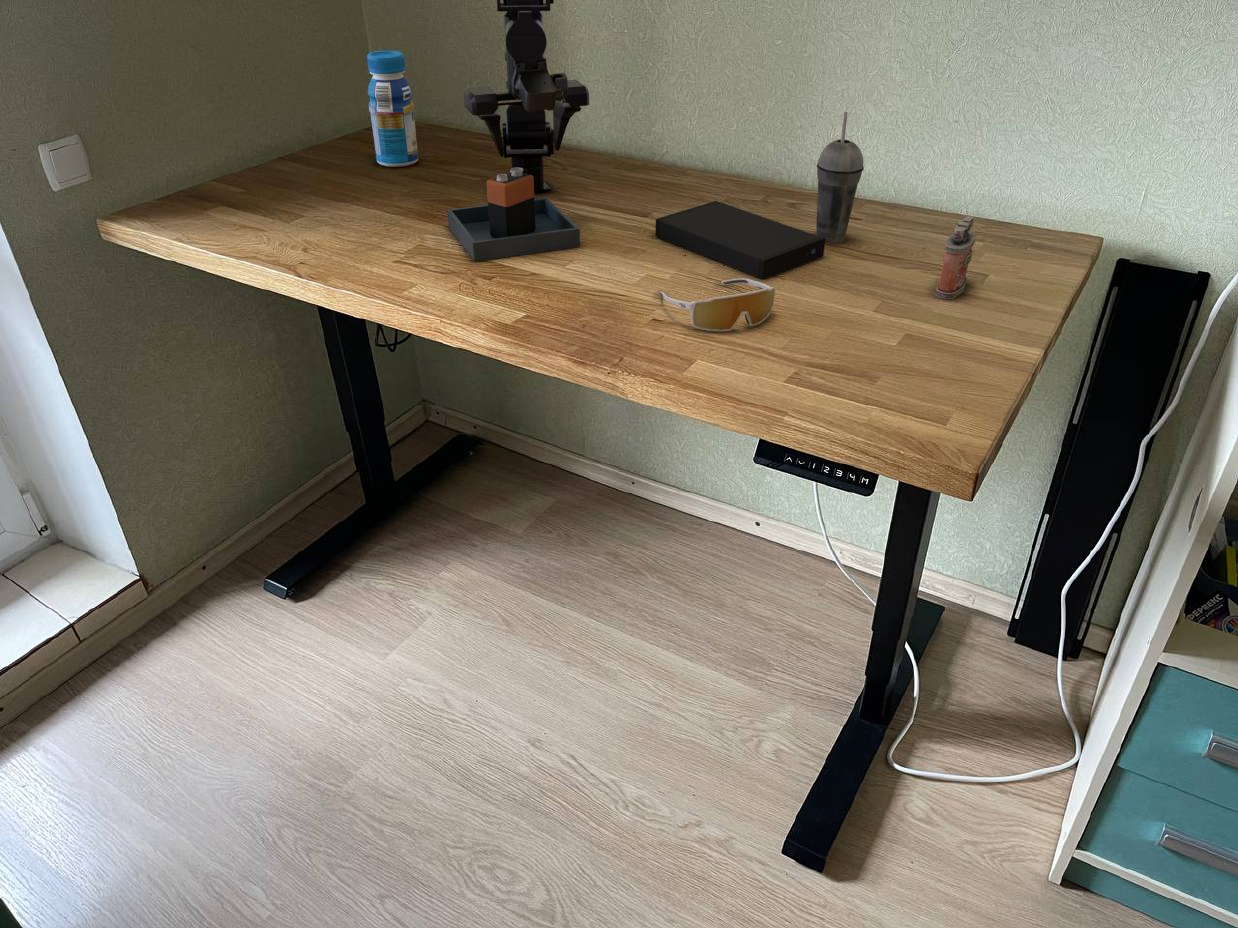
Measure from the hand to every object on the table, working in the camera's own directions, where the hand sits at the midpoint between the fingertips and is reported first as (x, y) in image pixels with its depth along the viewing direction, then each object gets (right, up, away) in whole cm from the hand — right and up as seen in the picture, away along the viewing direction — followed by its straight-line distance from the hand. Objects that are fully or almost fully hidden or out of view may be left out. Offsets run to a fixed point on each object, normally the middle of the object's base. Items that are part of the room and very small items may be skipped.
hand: (529, 153), depth 152 cm
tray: (-3, -13, +2) cm, 13 cm away
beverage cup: (+49, -13, +3) cm, 51 cm away
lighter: (+63, -24, -14) cm, 69 cm away
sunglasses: (+28, -28, -20) cm, 45 cm away
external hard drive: (+33, -15, -1) cm, 37 cm away
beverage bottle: (-29, +10, +36) cm, 48 cm away
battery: (-3, -13, +2) cm, 13 cm away
